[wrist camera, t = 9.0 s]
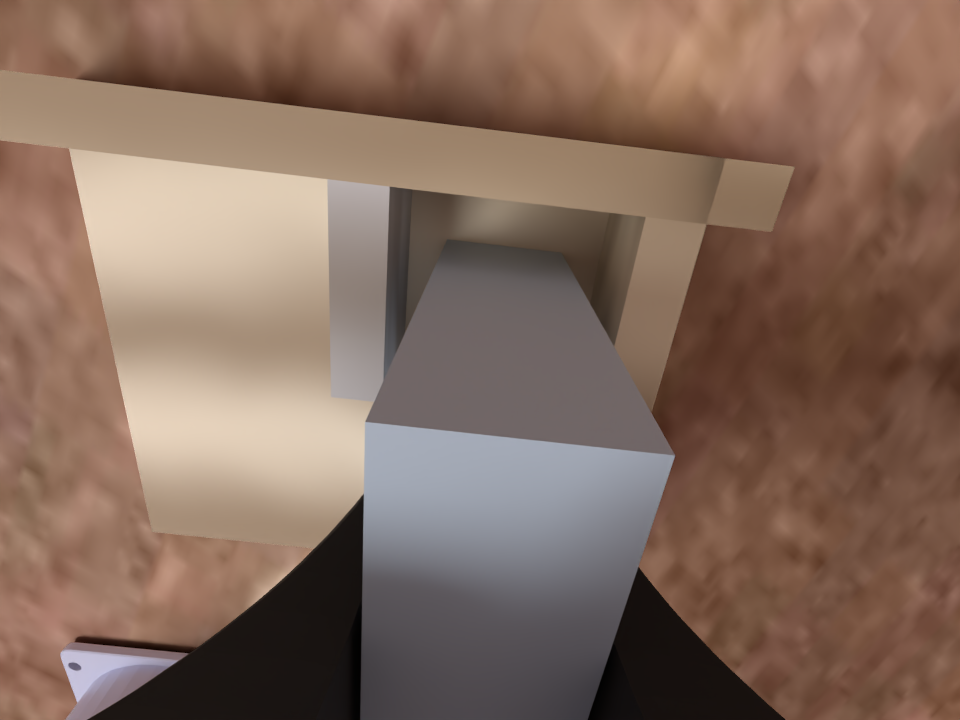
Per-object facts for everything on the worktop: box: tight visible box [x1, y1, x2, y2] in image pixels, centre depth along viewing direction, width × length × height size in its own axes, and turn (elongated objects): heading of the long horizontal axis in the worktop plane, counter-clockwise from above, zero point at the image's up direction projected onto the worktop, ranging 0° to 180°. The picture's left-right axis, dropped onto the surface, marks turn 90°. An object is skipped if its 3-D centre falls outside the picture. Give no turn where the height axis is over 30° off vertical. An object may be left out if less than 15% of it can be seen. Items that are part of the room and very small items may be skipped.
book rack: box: [0, 70, 795, 548], centre depth 14 cm, size 14×16×4 cm
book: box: [360, 239, 675, 720], centre depth 11 cm, size 11×3×9 cm, turn 174°
